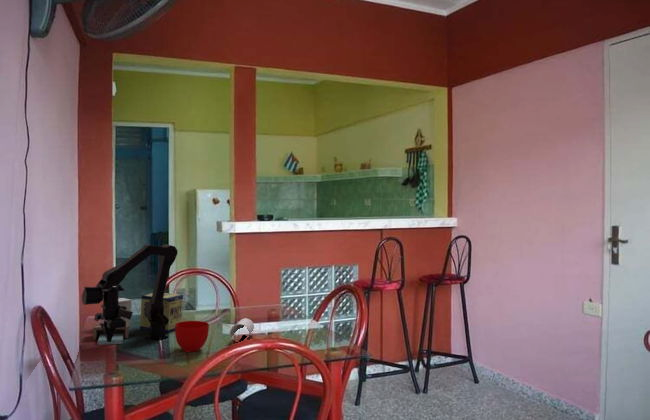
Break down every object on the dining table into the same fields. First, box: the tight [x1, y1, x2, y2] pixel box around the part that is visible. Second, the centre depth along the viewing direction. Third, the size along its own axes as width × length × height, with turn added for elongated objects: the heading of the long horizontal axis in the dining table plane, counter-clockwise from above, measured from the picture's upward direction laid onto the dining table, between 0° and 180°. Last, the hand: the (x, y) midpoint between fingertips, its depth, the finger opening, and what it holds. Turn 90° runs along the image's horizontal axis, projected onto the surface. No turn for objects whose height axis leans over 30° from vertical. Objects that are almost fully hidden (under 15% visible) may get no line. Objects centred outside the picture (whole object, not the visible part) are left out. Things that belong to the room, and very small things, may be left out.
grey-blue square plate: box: [97, 334, 125, 346], centre depth 213 cm, size 10×9×2 cm
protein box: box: [139, 292, 184, 334], centre depth 236 cm, size 10×16×16 cm
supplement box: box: [117, 297, 132, 328], centre depth 236 cm, size 7×7×13 cm
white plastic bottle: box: [229, 317, 255, 339], centre depth 227 cm, size 8×19×8 cm, turn 176°
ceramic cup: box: [174, 320, 210, 353], centre depth 206 cm, size 13×17×10 cm
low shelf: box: [92, 322, 130, 341], centre depth 219 cm, size 8×13×5 cm, turn 109°
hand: (109, 341), depth 207 cm, fingers closed
